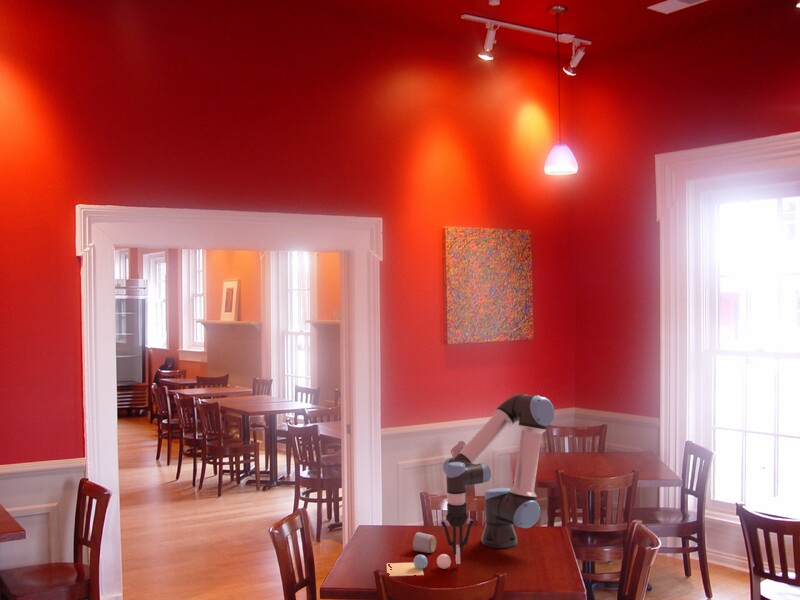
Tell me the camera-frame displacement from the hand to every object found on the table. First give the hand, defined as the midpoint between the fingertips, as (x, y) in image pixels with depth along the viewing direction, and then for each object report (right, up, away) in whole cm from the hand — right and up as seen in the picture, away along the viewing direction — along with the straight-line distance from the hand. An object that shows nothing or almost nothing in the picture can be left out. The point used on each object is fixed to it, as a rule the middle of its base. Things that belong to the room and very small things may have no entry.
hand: (458, 562), depth 306 cm
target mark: (-21, -2, -1) cm, 21 cm away
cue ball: (-6, +1, -1) cm, 6 cm away
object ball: (-15, 0, -1) cm, 15 cm away
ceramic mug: (-12, -2, +21) cm, 24 cm away
